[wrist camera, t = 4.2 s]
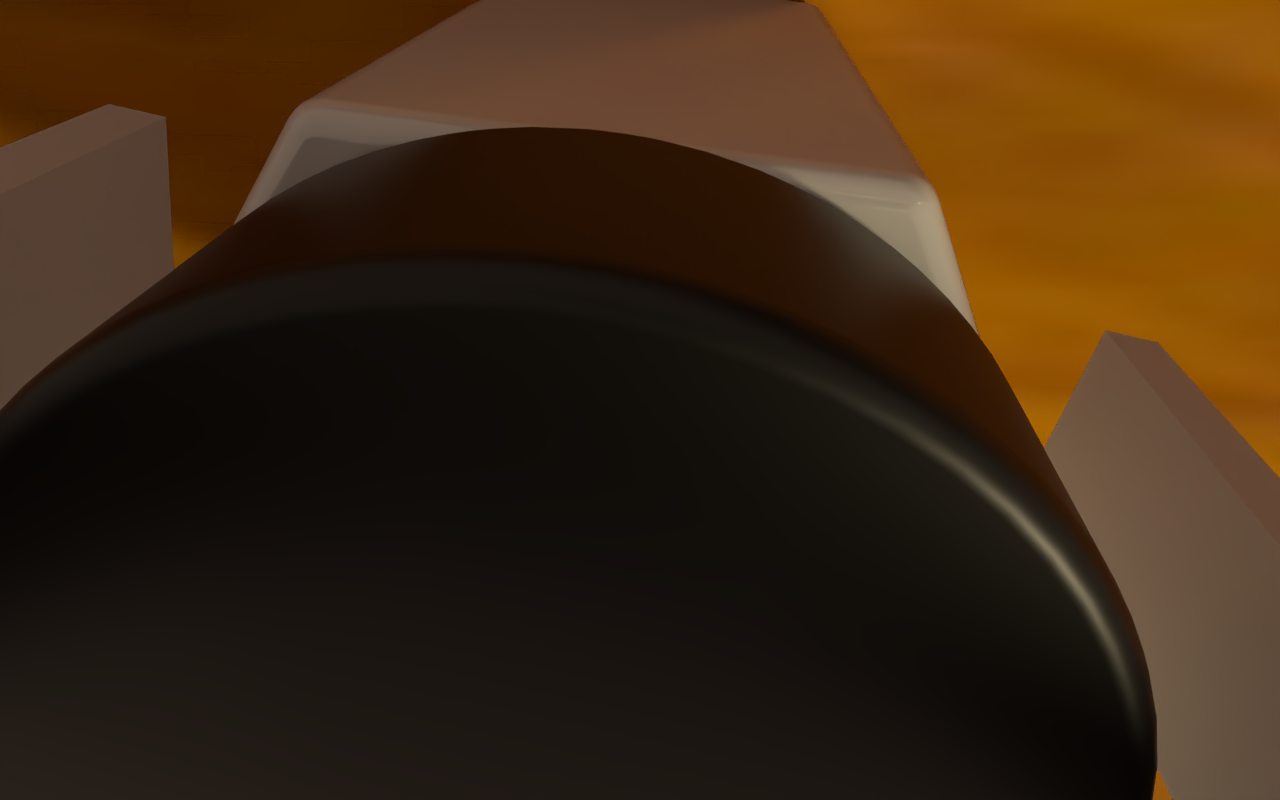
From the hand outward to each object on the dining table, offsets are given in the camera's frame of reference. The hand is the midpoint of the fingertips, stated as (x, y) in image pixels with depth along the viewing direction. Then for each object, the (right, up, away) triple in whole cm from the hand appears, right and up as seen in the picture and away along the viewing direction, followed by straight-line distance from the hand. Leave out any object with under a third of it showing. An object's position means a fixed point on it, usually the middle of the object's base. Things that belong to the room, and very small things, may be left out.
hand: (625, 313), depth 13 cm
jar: (0, +2, +3) cm, 4 cm away
